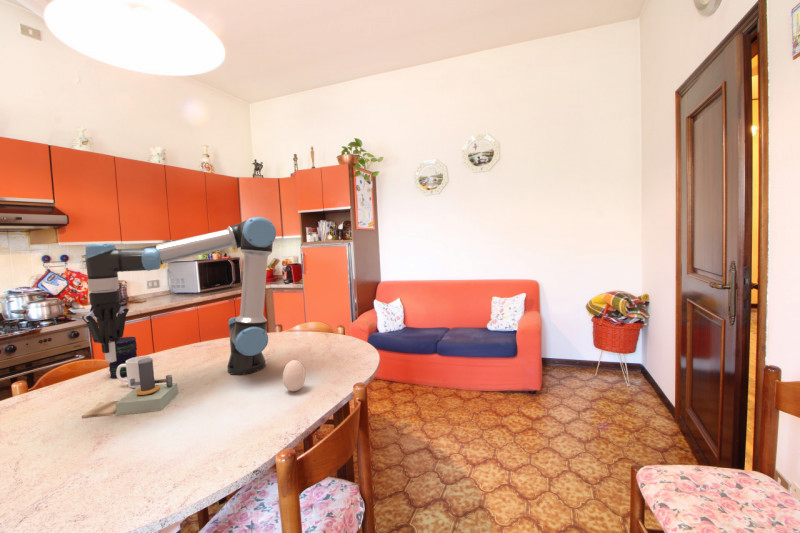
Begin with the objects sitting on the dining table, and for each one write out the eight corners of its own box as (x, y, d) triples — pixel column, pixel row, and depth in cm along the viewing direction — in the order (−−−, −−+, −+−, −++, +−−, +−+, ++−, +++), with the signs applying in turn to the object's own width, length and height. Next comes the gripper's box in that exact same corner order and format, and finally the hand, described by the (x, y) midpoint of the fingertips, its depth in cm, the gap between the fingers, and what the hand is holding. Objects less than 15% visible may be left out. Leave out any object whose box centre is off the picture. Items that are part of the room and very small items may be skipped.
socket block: (178, 393, 127) (177, 382, 127) (161, 410, 115) (160, 398, 114) (138, 397, 125) (137, 386, 125) (116, 415, 112) (115, 403, 112)
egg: (310, 389, 127) (308, 359, 126) (290, 397, 121) (288, 366, 120) (299, 384, 132) (297, 355, 131) (279, 391, 126) (277, 361, 125)
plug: (164, 398, 124) (160, 355, 122) (155, 406, 117) (150, 362, 116) (144, 400, 122) (139, 357, 121) (134, 409, 116) (129, 364, 115)
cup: (149, 386, 135) (147, 361, 134) (112, 391, 131) (109, 365, 130) (157, 378, 142) (155, 354, 142) (122, 382, 139) (120, 358, 138)
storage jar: (104, 377, 146) (100, 342, 144) (130, 368, 155) (126, 335, 153) (119, 380, 142) (115, 344, 141) (144, 371, 151) (141, 337, 150)
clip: (173, 384, 124) (172, 374, 124) (171, 386, 123) (170, 376, 122) (133, 388, 122) (132, 378, 122) (130, 391, 120) (129, 380, 120)
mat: (129, 401, 122) (129, 399, 122) (113, 414, 113) (113, 412, 113) (99, 404, 120) (99, 402, 120) (81, 418, 111) (81, 415, 111)
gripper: (116, 287, 120) (122, 354, 122) (72, 293, 107) (80, 367, 109) (133, 288, 118) (139, 355, 120) (90, 294, 105) (97, 369, 107)
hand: (111, 361), depth 115 cm, fingers closed
